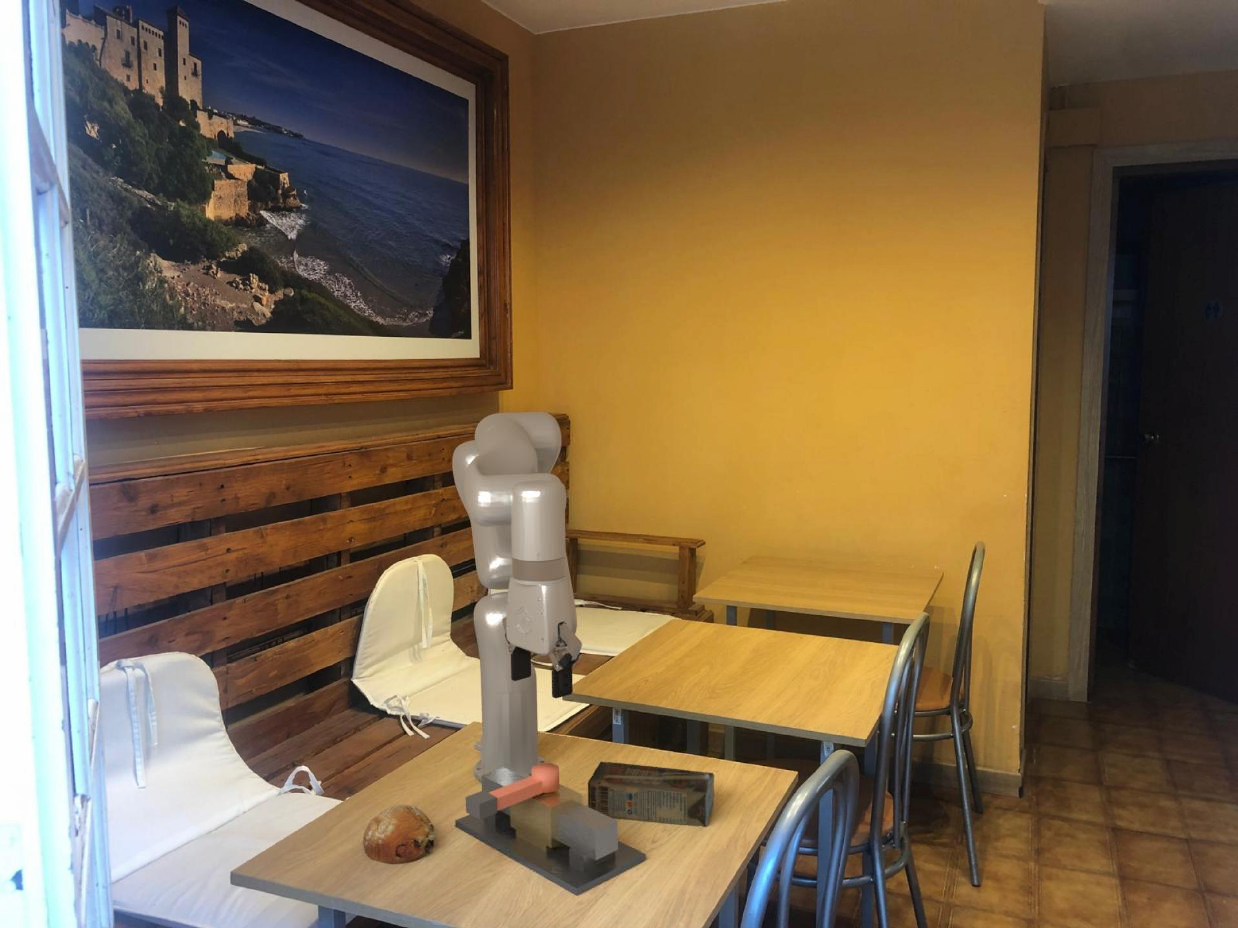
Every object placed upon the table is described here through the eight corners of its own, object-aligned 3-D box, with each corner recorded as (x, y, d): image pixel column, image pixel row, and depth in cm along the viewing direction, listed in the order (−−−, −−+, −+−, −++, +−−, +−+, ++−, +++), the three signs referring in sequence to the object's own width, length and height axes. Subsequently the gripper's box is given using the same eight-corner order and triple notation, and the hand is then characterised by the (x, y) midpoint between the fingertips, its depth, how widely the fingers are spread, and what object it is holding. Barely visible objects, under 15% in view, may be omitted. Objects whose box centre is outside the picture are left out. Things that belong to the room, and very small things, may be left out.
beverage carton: (707, 830, 150) (707, 788, 149) (585, 818, 154) (584, 777, 153) (715, 807, 157) (715, 767, 157) (598, 796, 162) (597, 757, 161)
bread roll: (415, 852, 151) (399, 800, 152) (454, 843, 145) (437, 789, 146) (360, 878, 143) (344, 824, 145) (400, 870, 137) (383, 813, 138)
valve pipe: (455, 826, 151) (453, 772, 150) (522, 799, 160) (521, 749, 159) (576, 895, 131) (575, 834, 130) (645, 860, 140) (644, 803, 139)
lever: (547, 778, 148) (546, 760, 147) (564, 786, 145) (564, 768, 145) (464, 811, 137) (463, 791, 137) (481, 820, 134) (480, 800, 134)
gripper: (482, 563, 143) (485, 678, 145) (555, 583, 130) (557, 709, 132) (524, 556, 148) (527, 667, 150) (599, 575, 135) (600, 696, 137)
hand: (541, 686), depth 141 cm, fingers open, 9 cm apart
